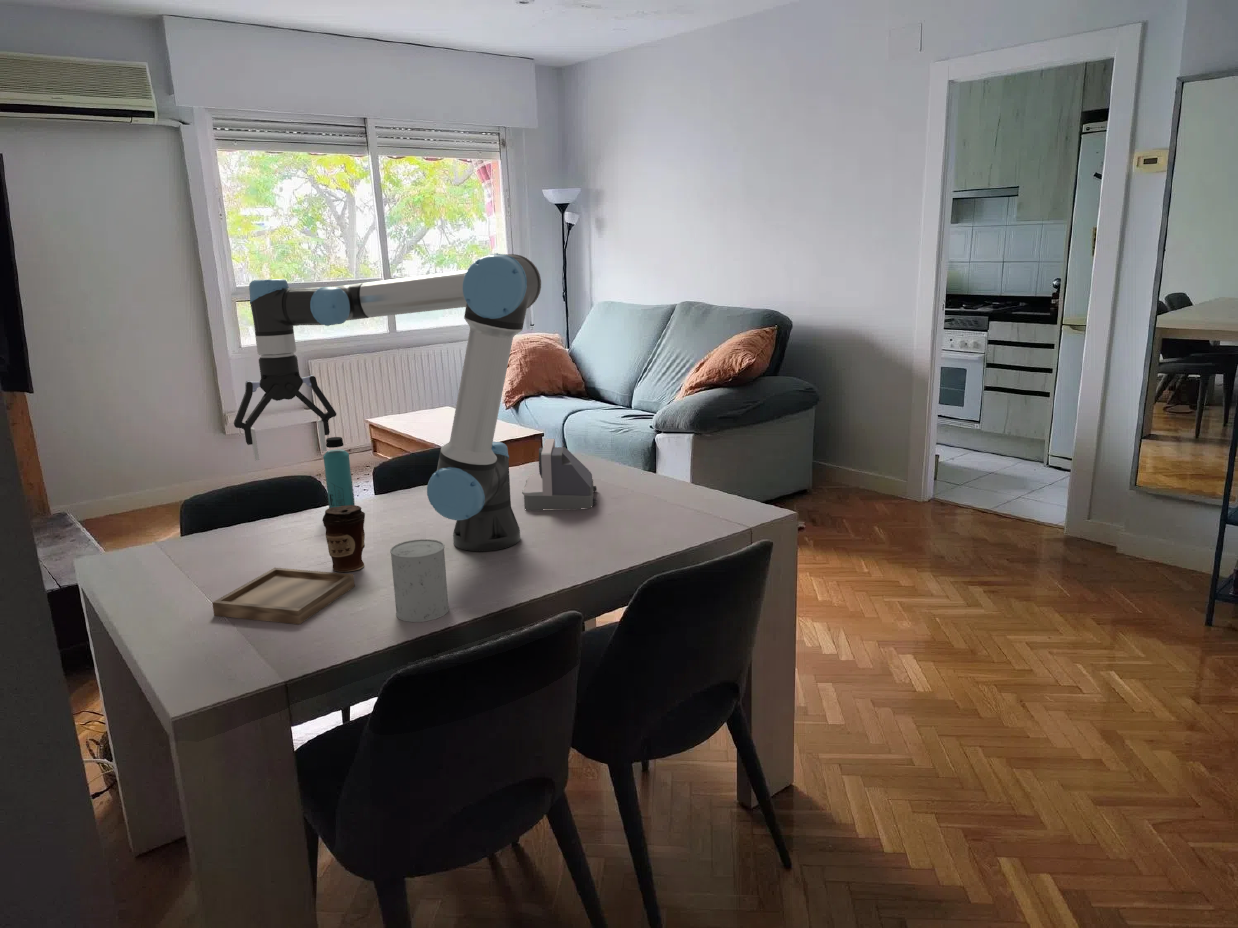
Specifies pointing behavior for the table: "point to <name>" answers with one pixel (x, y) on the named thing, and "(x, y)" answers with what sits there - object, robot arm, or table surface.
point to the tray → (284, 595)
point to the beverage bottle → (338, 474)
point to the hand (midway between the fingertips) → (290, 454)
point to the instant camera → (559, 481)
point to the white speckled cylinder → (419, 580)
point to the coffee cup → (345, 537)
